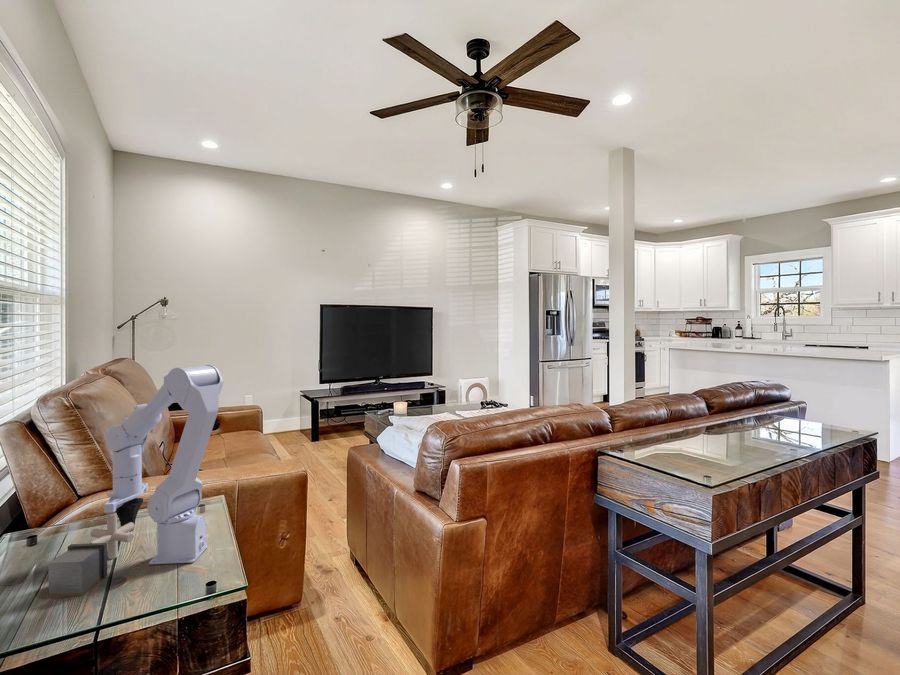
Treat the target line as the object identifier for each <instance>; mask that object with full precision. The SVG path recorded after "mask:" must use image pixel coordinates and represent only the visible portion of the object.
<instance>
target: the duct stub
mask: <svg viewBox="0 0 900 675" xmlns="http://www.w3.org/2000/svg"><path fill="white" fill-rule="evenodd" d="M47 564H48V570H47V572H48V573H47V574H48V598H53V597H55V598H57V597H71V596H73V597H74V596H76V597H77V596H84V594H85V593H87V592H88V591H89V590H91V589H92V588H94V587H95V585H97V584H98V583H99V582H100V581H101V580H103V579H106V578H107V577H108V543H90V542H89V543H71V544H69V545H68V546H67V550H66V551H65V552H63V553H62V554H60V555H59V556H57V557H55V558H54V559H52V560H51V561H50V562H48V563H47Z"/></svg>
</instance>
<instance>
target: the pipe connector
mask: <svg viewBox="0 0 900 675" xmlns="http://www.w3.org/2000/svg"><path fill="white" fill-rule="evenodd" d="M135 526H136V524H135V525H134V523H133V522H130V523H128V524H126V525H124V526H122V527H121V526H120V527H118V516H117V513H115V512H112V513H111V512H110V513H106V529H102V528H96V527H95V528H93V529H92V530H91V531H90V537H92V538H96V539H94V540H92V541H90V542H89V543H107V560H114V559H117V557H118V556H119V552H118V550H119V549H118V548H119V547H118V544H119V543H118V542H124V543H129V544H130V543H131V542H133V540H134V537H135V535H134V534H133V533H130V532H129V531H131V530H133V529H134V530H135ZM134 530H133V531H134ZM131 532H132V531H131Z"/></svg>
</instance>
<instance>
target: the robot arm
mask: <svg viewBox="0 0 900 675" xmlns="http://www.w3.org/2000/svg"><path fill="white" fill-rule="evenodd" d="M223 385H224V379H223V377H222V375H221V372H220V371H219V369H218V368H217V367H216V366H214V365H212V364H206V365H199V366H188V367H174V368H172V369H170V371H168V374H166V375H165V376H164V377H163V383H162V385H161V387H159V389H158V391H156V393H155V394H154V395H153V396H152V398H151V399H150V400H149V401H148V403H142V404H137V405H136V406H135V407H134V410H133V411H132V412H131V413H130V415H128V416H127V417H125V418H124V419H123V421H122V422H121V424H118V425H113V426H112V425H111V426H110V427H109V428H108V430H107V432H106V435H105V441H106V445H107V447H108V448H109V449H110V450H111V451H112V492H110V493H108V494H107V498H109V499H108V501H106V502H105V503H104V504H103V511H104V512H103V513H106V514H109V513H114V512H115V513H117V519H118V520H119V524H120V525H119V526H120V527H122V526H124V525H126V524H128V523H130V522H133V523H134V525H135V526H136V521H137V520H136V519H137V515H138V513H139V511H140V508H141V506H142V505H143V503H144V498H142V497H141V496H142V495H143V494H144V493H145V492H147V491H149V483H148V482H143V478H142V477H143V467H142V466H143V465H142V464H143V462H142V461H143V460H142V459H143V458H142V457H143V456H142V455H143V453H144V451H145V444H147V441H148V438H149V433H150V432H151V431H152V430H153V429H154V428H155V427H156V425H158V424H159V423H160V422H161V421H162V418H163V414H162V413H163V412H164V411H165V410H167V409H168V408H169V407H170V406H171V405H172V404H173V403H175V401H176V402H177V404H178V405H179V407H181V409H182V410H184V411H186V412H188V415H187V418H186V422H185V425H184V427H183V430H182V434H181V437H180V440H179V442H178V446H177V449H176V452H175V456H174V458H173V461H172V463H171V464H172V466H171V468H170V470H169V473H168V476H166V478H165V479H163V480H162V481H161V482H160V483H159V484H158V485H157V486H156V487H155V490H154V492H153V493H152V495H151V496H150V497H149V499H148V500H147V506H146V508H147V514H148V516H149V517H150V518H151V519H152V520H153V522H154V523H156V534H157V535H156V536H157V537H156V538H157V539H156V540H157V541H156V545H157V547H156V548H157V551H156V553H157V554H156V555H155V556H154V557H153V558H152V559H151V560H150V561H149V562H148V565H162V564H163V565H166V564H168V565H169V564H185V563H187V564H188V563H189V564H192V563H194V562H195V561H197V559H198V558H199V557H200V556H201V555H202V553H203V552H204V551H205V550H206V549H207V548H208V547H209V546H208V544H207V520H206V518H205V516H204V515H198V514H195V513H197V508H198V507H199V506H200V504H201V502H202V496H203V495H202V488H203V486H204V484H203V482H202V481H201V479H200V478H198V474H199V470H200V468H201V465H202V464H201V463H202V461H203V459H204V455H205V452H206V450H207V446H208V444H209V440H210V437H211V435H212V432H213V428H214V425H215V422H216V419H217V417H218V414H219V413H218V412H219V405H220V404H219V401H220V400H219V398H220V397H219V396H220V394H221V391H222V389H223V388H222V387H223ZM134 530H135V528H134V529H133V530H131V531H129V532H128V533H130V532H133V531H134Z"/></svg>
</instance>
